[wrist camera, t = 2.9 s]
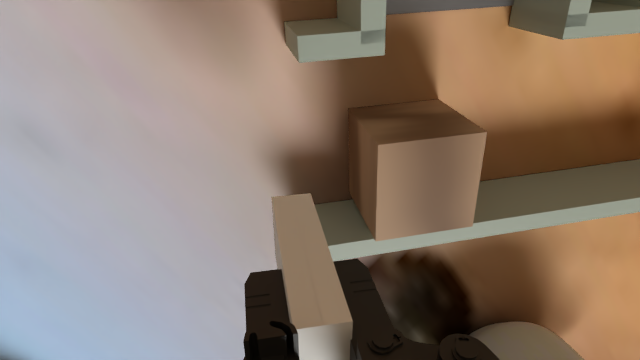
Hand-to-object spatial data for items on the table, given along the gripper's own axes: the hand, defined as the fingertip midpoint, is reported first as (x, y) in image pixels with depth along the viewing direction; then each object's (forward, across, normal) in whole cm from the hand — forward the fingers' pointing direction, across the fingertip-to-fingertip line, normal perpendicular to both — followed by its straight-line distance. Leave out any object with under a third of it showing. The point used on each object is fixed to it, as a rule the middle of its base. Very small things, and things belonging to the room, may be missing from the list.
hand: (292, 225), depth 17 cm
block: (+7, -6, 0) cm, 10 cm away
